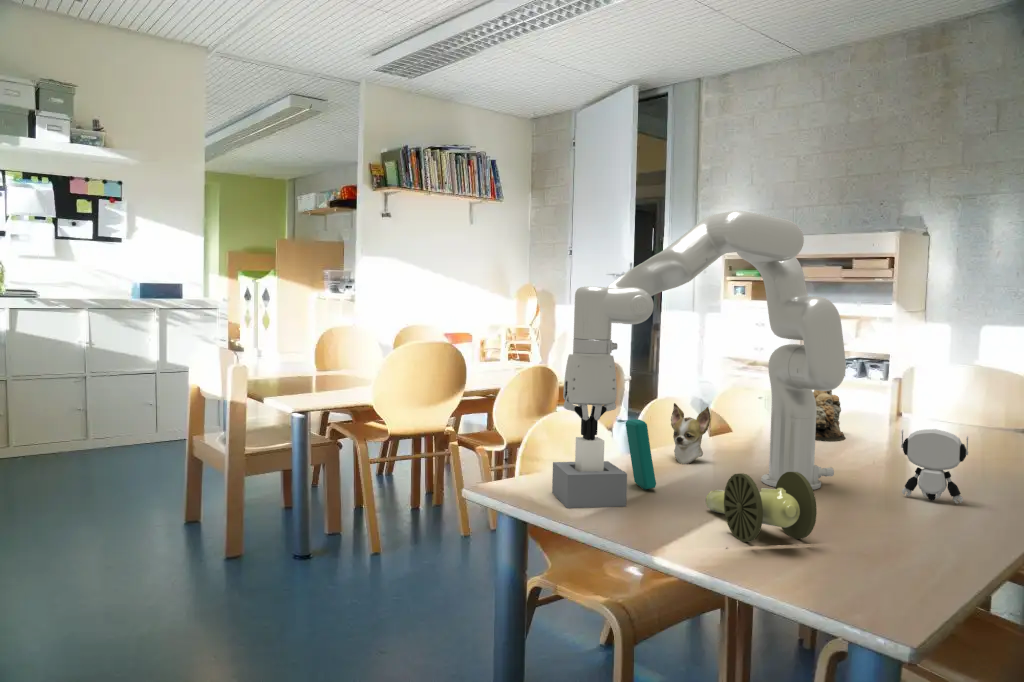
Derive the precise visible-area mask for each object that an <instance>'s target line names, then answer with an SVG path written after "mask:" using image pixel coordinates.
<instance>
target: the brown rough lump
mask: <svg viewBox="0 0 1024 682" xmlns="http://www.w3.org/2000/svg"><path fill="white" fill-rule="evenodd" d="M812 392H813V394H814V397H815V401H816V411H817V412H816V433H815V442H816V441H817V442H827V443H829V442H830V443H831V442H835V443H836V442H841V441H845V440H846V436H845V433H843V431H841V427H840V424H841V422H840V421H839V420H840V414H841V411H842V407H841V401H840V396H838V395H836V394H833V390H830V391H818V390H813V391H812Z"/></svg>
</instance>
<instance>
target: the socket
mask: <svg viewBox="0 0 1024 682" xmlns="http://www.w3.org/2000/svg"><path fill="white" fill-rule="evenodd" d="M551 480H552V484H551V485H552V486H551V488H552V489H551V493H552V495H554V496H555V498H557V500H559V502H560V503H561V504H562V505H564V506H565V508H566V509H577V508H578V509H581V508H582V509H584V508H588V509H589V508H615V507H617V508H618V507H619V508H620V507H622V508H623V507H627V494H628V493H627V492H628V491H627V490H628V473H627V472H625V470H622V469H621V468H619V467H618V466H616V465H615V464H613V463H611V462H610V461H608V460H604V471H580V472H578V471H576V470H575V461H553V462H552V479H551Z"/></svg>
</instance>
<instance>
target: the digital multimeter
mask: <svg viewBox="0 0 1024 682" xmlns="http://www.w3.org/2000/svg"><path fill="white" fill-rule="evenodd" d="M625 428H626V435H627V442H628V447H629V454H630V460H631V468H632V473H633V474H632V476H633V480H634V483H635V484H636V485H637V486H638V487H639V486H640V487H639V488H640V489H642V488H643V489H642V490H649V489H654V488H656V486H657V482H656V481H657V480H656V474H655V469H654V463H653V457H652V450H651V445H650V444H651V443H650V438H649V429H648V424H647V423H646V421H644V420H641V419H639V418H638V419H637V418H634V419H629V420H628V419H627V420H626V421H625Z"/></svg>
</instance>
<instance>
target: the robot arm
mask: <svg viewBox="0 0 1024 682" xmlns="http://www.w3.org/2000/svg"><path fill="white" fill-rule="evenodd" d="M804 241H805V238H804V233H803V230H802V229H801V228H800V226H799V225H798V224H797V223H795V222H794V221H792V220H790V219H786V218H781V217H776V216H771V215H766V214H761V213H755V212H750V211H743V210H732V211H726V212H720V213H715V214H711V215H709V216H706V217H705V218H703V219H702V220H700V221H699V222H698V223H696V224H695V225H694V226H692V227H691V228H690V229H689V230H688V231H686V232H685V233H683V234H682V235H681V236H680V237H679V238H678V239H676V240H675V241H673V242H672V243H671V244H670V245H669V246H667V247H666V248H664V249H663V250H661V251H659V252H658V253H656V254H654V255H652V256H651V257H649V258H648V259H646V260H644V261H643V262H642V263H639V264H638V265H636V266H634V267H632V268H630V269H629V270H628V271H626V272H625V273H623V274H622V275H620V276H619V277H617V279H616V280H614V281H613V282H611V284H609V285H608V286H606V287H602V286H581V287H578V288H577V289H576V290H575V294H574V308H573V309H574V312H573V313H574V314H573V339H572V340H573V341H572V342H573V344H572V345H573V347H572V353H570V354H568V357H567V360H566V361H567V362H566V366H565V373H564V374H565V375H564V382H563V393H562V396H563V400H564V402H563V408H564V410H568V411H572V412H575V414H576V415H577V416H578V417H579V418H580V435H581V436H582V437H583V438H584V439H586V440H590V439H591V440H595V437H596V436H597V435H598V421H599V420H600V419H601V417H602V416H603V415H605V413H607V412H610V411H615V410H616V409H617V406H616V400H617V373H616V372H617V369H616V364H615V359H614V358H615V357H614V355H611V354H612V351H614V350H618V342H613V340H612V324H622V325H638V324H641V323H644V322H646V321H647V320H648V319H649V318H650V317H651V315H652V314H653V312H654V307H655V306H654V300H653V298H652V297H653V296H654V295H657V294H659V293H661V292H665V291H668V290H672V289H675V288H679V287H681V286H683V285H686V284H687V283H689V282H691V281H692V280H694V279H695V278H696V277H697V276H699V275H700V274H701V273H702V272H703V271H705V269H707V268H708V267H709V266H710V265H711V264H713V263H714V262H716V261H717V260H719V258H721V257H722V256H724V255H725V254H733V253H736V254H737V255H738V256H739V257H740V258H741V259H742V260H744V261H746V262H747V263H749V264H751V265H752V266H753V267H754V268H755V269H756V271H758V273H759V274H760V276H761V278H762V281H763V284H764V289H765V296H766V297H765V298H766V307H767V313H768V320H769V321H768V322H769V325H770V329H771V331H772V333H773V334H774V335H775V336H776V337H778V338H782V339H785V340H794V341H795V340H796V341H803V344H797V343H795V344H793V343H792V344H791V343H790V344H784V345H783V344H782V345H781V346H779V347H778V348H776V349H774V351H773V352H772V353H771V355H770V357H769V360H768V365H767V366H768V367H767V368H768V376H769V383H770V389H771V411H770V412H771V413H770V433H769V434H770V437H769V439H770V440H769V460H768V461H769V467H768V469H769V470H768V473H765V474H763V475H761V482H762V483H763V485H764V484H765V485H767V486H770V487H773V488H776V484H777V482H778V480H779V478H780V477H781V476H782V475H783V474H784V473H786V472H798V473H800V474H802V475H803V476H804V477H805V478H806V479H807V480H808V482H809V483H810V485H811V487H812V490H813V491H814V490H819V489H820V488H821V487H822V481H821V480H820V478H822V477H833V476H834V475H835V471H834V468H833V467H823V468H822V467H821V466H819V465H816V464H815V454H816V452H815V451H816V440H815V433H816V412H817V411H816V401H815V397H814V394H813V392H814V390H818V391H830V390H832V391H833V390H835V389H837V388H838V387H839V386H840V385H842V382H843V380H844V378H845V376H846V369H847V367H846V366H847V363H846V361H847V360H846V354H845V353H846V352H845V343H844V335H843V327H842V320H841V315H840V313H839V311H838V309H837V307H836V305H835V304H834V303H833V302H832V301H831V300H829V299H827V298H826V297H823V296H811V295H810V296H809V294H808V291H807V284H806V280H805V275H804V271H803V268H802V265H801V263H800V261H799V260H798V259H797V256H798V255H799V253H800V252H801V251H802V250H803V246H804V243H805V242H804ZM588 406H591V410H590V415H589V408H588Z"/></svg>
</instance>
